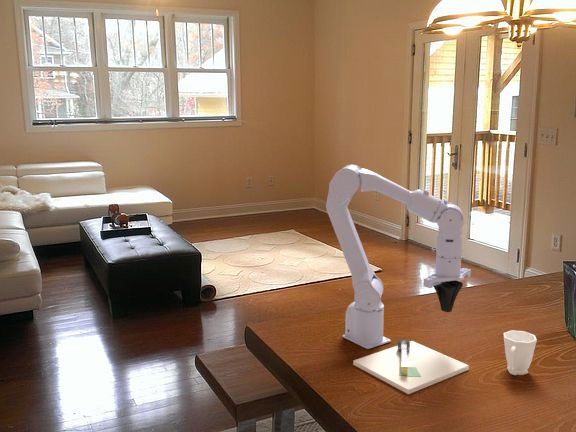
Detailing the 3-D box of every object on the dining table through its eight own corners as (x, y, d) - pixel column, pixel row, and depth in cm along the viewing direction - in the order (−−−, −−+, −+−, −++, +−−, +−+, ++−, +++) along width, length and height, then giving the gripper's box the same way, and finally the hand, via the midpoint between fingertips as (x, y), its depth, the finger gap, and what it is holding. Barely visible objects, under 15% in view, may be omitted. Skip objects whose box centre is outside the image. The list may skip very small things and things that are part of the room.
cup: (538, 368, 129) (540, 334, 127) (526, 386, 121) (528, 350, 119) (505, 360, 133) (508, 327, 131) (492, 377, 125) (494, 342, 124)
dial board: (353, 364, 132) (353, 360, 132) (411, 344, 142) (412, 340, 142) (408, 394, 118) (408, 389, 118) (468, 369, 129) (468, 365, 129)
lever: (397, 347, 138) (397, 339, 138) (409, 348, 138) (409, 340, 137) (397, 374, 124) (398, 365, 124) (411, 375, 124) (411, 366, 123)
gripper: (441, 264, 129) (438, 322, 131) (482, 254, 137) (479, 309, 139) (417, 257, 135) (415, 313, 137) (458, 248, 143) (456, 301, 145)
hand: (446, 310), depth 139 cm, fingers closed
